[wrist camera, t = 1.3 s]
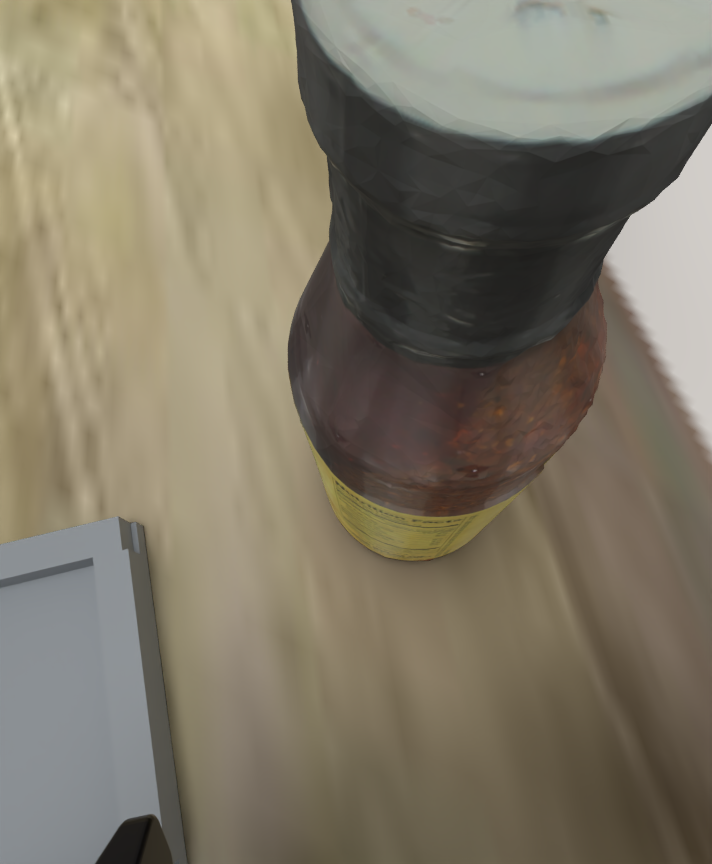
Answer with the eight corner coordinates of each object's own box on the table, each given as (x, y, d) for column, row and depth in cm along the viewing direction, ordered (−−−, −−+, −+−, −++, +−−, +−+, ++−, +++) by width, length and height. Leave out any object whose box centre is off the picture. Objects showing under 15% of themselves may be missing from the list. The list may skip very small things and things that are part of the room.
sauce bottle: (396, 381, 25) (491, -381, 7) (522, 476, 24) (1090, -148, 5) (288, 501, 24) (10, -60, 5) (416, 611, 22) (689, 399, 4)
